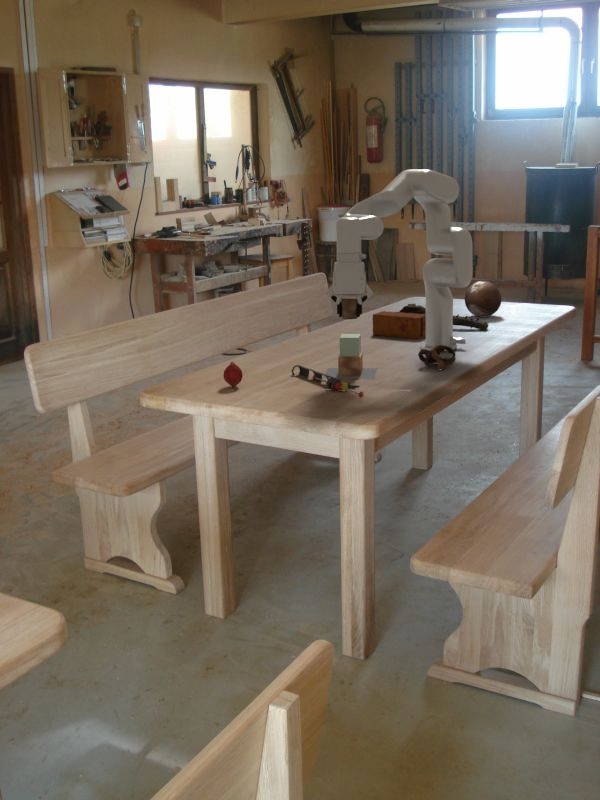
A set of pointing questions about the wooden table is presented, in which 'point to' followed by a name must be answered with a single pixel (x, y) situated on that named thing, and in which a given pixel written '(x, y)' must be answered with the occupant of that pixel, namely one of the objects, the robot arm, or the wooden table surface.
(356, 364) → the tower base
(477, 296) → the wooden sphere
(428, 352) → the pottery mug
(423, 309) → the wooden club
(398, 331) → the brick
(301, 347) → the wooden table surface
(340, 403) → the wooden table surface
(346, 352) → the tower mid
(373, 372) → the mat
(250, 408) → the wooden table surface
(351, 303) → the dowel
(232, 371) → the onion
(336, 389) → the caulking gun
